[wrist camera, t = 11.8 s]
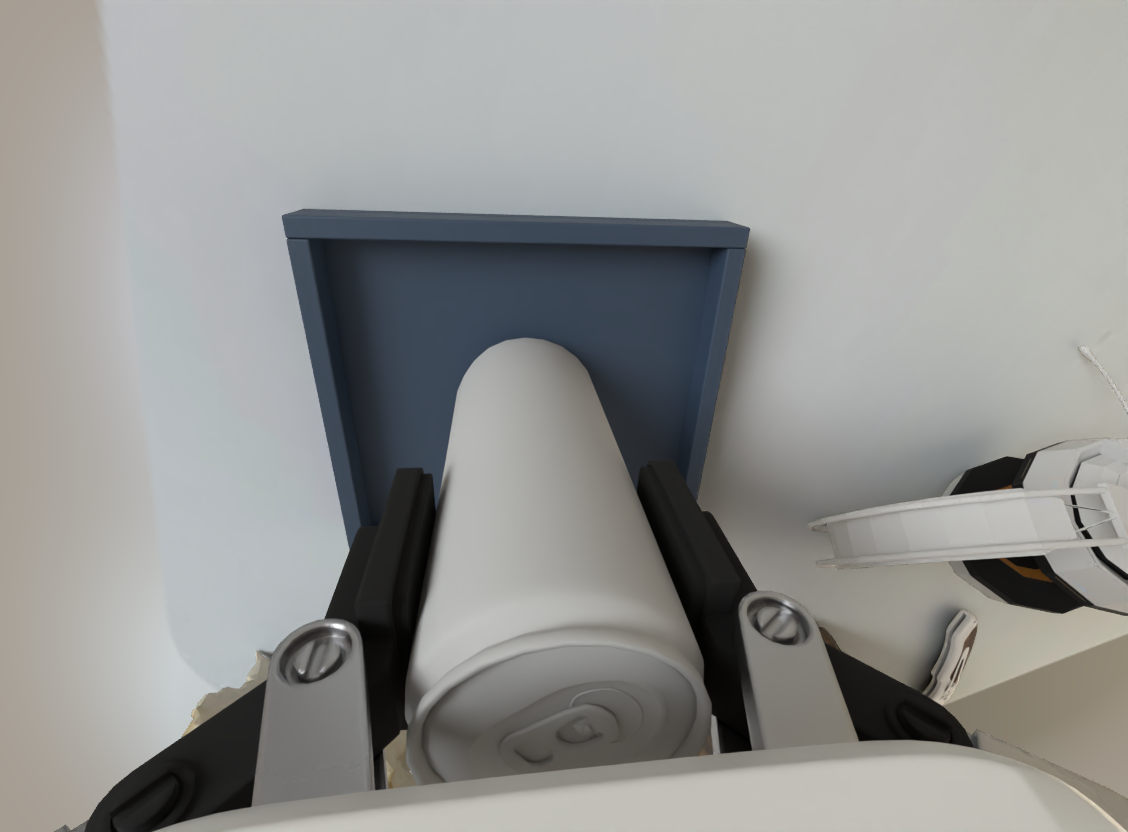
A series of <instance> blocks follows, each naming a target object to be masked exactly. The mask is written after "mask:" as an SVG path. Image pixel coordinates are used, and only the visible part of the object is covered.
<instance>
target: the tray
mask: <svg viewBox="0 0 1128 832" xmlns="http://www.w3.org/2000/svg"><path fill="white" fill-rule="evenodd" d="M282 220H283V225H284V230H285V235H286V237H287V238H288V239H287V245H288V250H289V255H290V260H291V265H292V270H293V275H294V280H295V284H296V289H297V294H298V299H299V304H300V309H301V314H302V319H303V324H304V329H305V334H306V338H307V343H308V348H309V353H310V358H311V363H312V368H313V373H314V378H315V383H316V387H317V392H318V397H319V402H320V407H321V412H322V417H323V422H324V427H325V432H326V437H327V441H328V446H329V451H330V456H331V461H332V466H333V471H334V476H335V481H336V486H337V490H338V495H339V500H340V505H341V510H342V515H343V520H344V525H345V530H346V535H347V540H348V544H349V548H351V546H352V543H353V540H354V538H355V535H356V533H357V530H358V528H360V527H361V526H379V524H380V521H381V518H382V515H383V512H384V508H385V505H386V502H387V499H388V496H389V493H390V489H391V486H392V483H393V480H394V477H395V474H396V471H397V469H398V468H421V467H422V468H423V471H424V474H426V473H432V476H433V485H434V496H435V506H436V511H437V505H438V500H439V495H440V489H441V484H442V478H443V473H444V467H445V461H446V456H447V450H448V444H449V438H450V432H451V426H452V420H453V414H454V408H455V402H456V396H457V391H458V389H459V386H460V384H461V381H462V379H463V377H464V375H465V373H466V372H467V370H468V369H469V368H470V366H471V365H472V363H473V362H474V360H476V359H477V358H478V357H479V356H480V355H481V354H482V353H483V352H485V351H486V350H487V349H488V348H490V347H492V346H494V345H497V344H499V343H501V342H503V341H506V340H512V339H518V338H534V339H543V340H546V341H549V342H552V343H554V344H557V345H560V346H562V347H564V348H565V349H566V350H568V351H569V352H570V353H572V354H573V355H575V356H576V357H577V358H578V359H579V361H580V362H581V363H582V364H583V366H584V367H585V368H586V369H587V371H588V373H589V376H590V378H591V381H592V383H593V386H594V388H595V391H596V393H597V396H598V398H599V401H600V403H601V406H602V408H603V411H604V413H605V416H606V418H607V421H608V423H609V425H610V428H611V430H612V433H613V435H614V438H615V440H616V443H617V445H618V448H619V450H620V453H621V455H622V458H623V460H624V463H625V465H626V468H627V470H628V473H629V475H630V478H631V480H632V482H633V485H634V487H635V490H636V492H637V486H638V478H639V471H640V468H641V467H646V466H647V464H648V462H649V461H651V460H673V462H674V463H675V465H676V467H677V468H678V470H679V472H680V474H681V475H682V477H683V479H684V481H685V483H686V484H687V486H688V488H689V490H690V491H691V493H692V495H693V497H694V498H695V500H696V502H697V497H698V492H699V487H700V482H701V477H702V471H703V466H704V461H705V456H706V451H707V446H708V441H709V436H710V431H711V425H712V420H713V415H714V410H715V405H716V400H717V395H718V390H719V385H720V379H721V374H722V369H723V364H724V359H725V354H726V349H727V344H728V339H729V333H730V328H731V323H732V318H733V313H734V308H735V303H736V298H737V293H738V288H739V282H740V277H741V272H742V267H743V262H744V257H745V252H746V250H745V249H744V248H746V247H747V242H748V237H749V232H750V228H748V227H745V226H742V225H739V224H735V223H732V222H729V221H708V220H673V219H638V218H603V217H568V216H533V215H498V214H463V213H428V212H393V211H358V210H323V209H302V210H298V211H295V212H292V213H288V214H285V215H282Z"/></svg>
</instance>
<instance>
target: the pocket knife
mask: <svg viewBox="0 0 1128 832" xmlns="http://www.w3.org/2000/svg"><path fill="white" fill-rule="evenodd" d="M976 632H977V620H976V618H975V616H974V615H973V614H971V613H970V612H969V611H968V610H966V609H963V610H961V611H960V612H959V613H958V614H957V615H956V616H955V618H954V619H953V620H952V621H951V623H950V624H949V626H948V627H947V629H946V639H945V643H944V646H943V649H942V652H941V654H940V656H939V659H938V660H937V662H936V664H935V666H934V667H933V669H932V671H931V674H932V675H933V678H932V681H931V683H930V684H929V685H928V687H927V688H926V689H925V690H924V692H923V693H922V694H924V695H926V696H927V697H929V698H931V699H932V700H934V701H935V702H937V703H939V704H940V705H942V706H943V704H944V703H945V702H946V701H947V700H948V699H950V698H951V696H952V694H953V692H954V690H955V687H956V685H957V683H958V682H959V679H960V676H961V674H962V671H963V669H964V666H965V664H966V661H967V659H968V657H969V654H970V652H971V649H972V646H973V643H974V640H975V636H976Z"/></svg>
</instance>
